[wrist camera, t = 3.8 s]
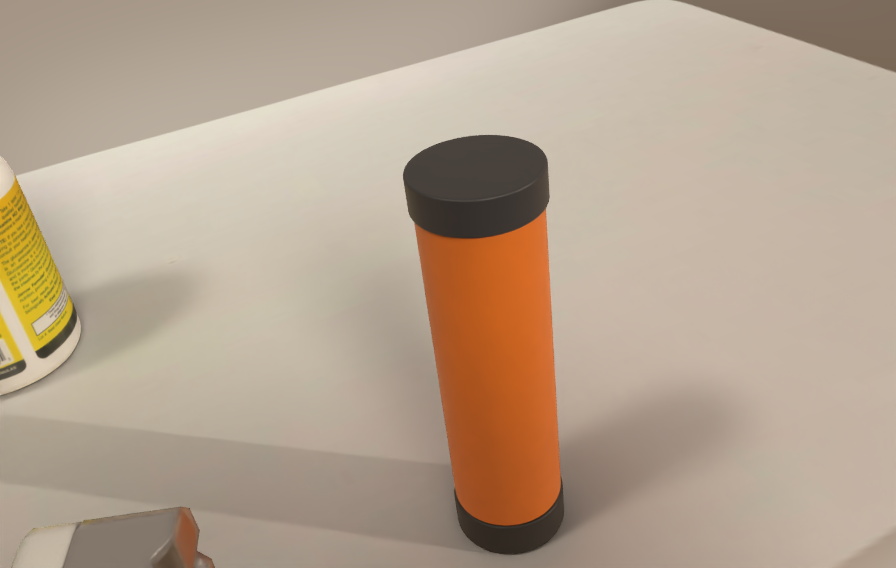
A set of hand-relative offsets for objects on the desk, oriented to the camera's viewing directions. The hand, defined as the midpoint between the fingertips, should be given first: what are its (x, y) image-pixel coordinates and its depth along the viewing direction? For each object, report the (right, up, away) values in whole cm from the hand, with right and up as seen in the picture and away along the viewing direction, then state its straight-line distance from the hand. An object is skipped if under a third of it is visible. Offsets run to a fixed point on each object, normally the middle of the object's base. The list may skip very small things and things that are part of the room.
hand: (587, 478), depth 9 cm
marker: (+1, -5, +18) cm, 18 cm away
